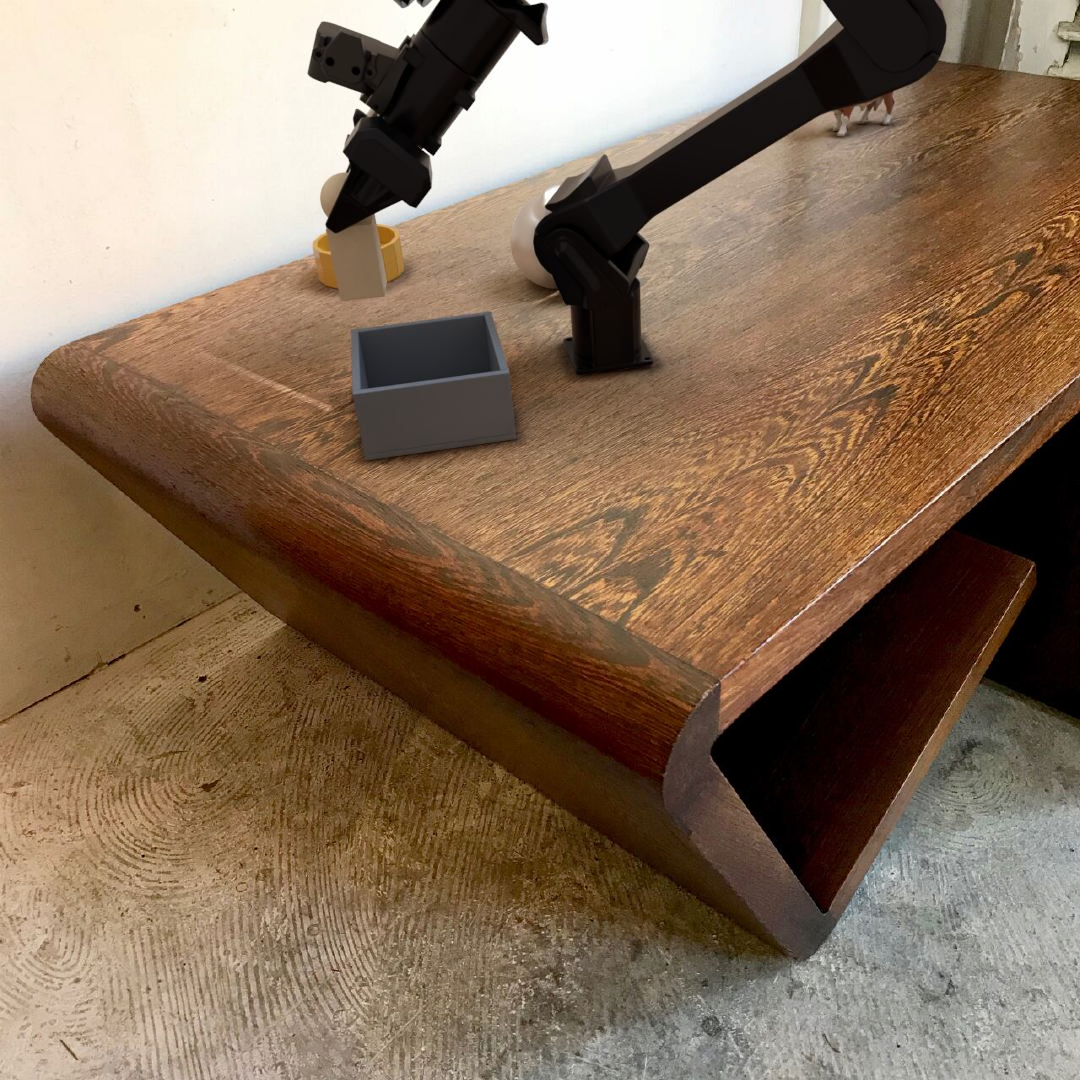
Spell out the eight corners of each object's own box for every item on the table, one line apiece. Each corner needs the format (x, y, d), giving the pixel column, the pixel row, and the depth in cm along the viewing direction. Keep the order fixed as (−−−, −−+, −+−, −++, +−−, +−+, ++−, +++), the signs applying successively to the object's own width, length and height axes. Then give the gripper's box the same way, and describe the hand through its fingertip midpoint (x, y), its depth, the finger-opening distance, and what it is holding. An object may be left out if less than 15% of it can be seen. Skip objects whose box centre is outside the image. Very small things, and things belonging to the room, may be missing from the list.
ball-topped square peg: (389, 279, 88) (368, 163, 83) (387, 298, 85) (365, 178, 79) (342, 284, 88) (318, 168, 83) (338, 303, 85) (312, 184, 79)
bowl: (407, 287, 104) (401, 248, 101) (320, 299, 103) (311, 259, 101) (402, 257, 111) (397, 219, 108) (320, 267, 110) (313, 229, 108)
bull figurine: (797, 135, 136) (801, 67, 131) (880, 116, 140) (888, 50, 135) (818, 142, 133) (823, 73, 128) (903, 123, 137) (911, 56, 132)
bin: (516, 439, 78) (509, 372, 75) (365, 460, 77) (352, 394, 74) (497, 373, 87) (490, 310, 84) (362, 391, 86) (350, 329, 83)
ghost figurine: (541, 314, 96) (533, 205, 90) (499, 281, 103) (489, 178, 97) (627, 291, 99) (625, 184, 93) (581, 260, 106) (576, 159, 100)
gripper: (369, -42, 81) (261, 123, 87) (348, -3, 66) (220, 193, 72) (483, 57, 86) (373, 207, 92) (488, 114, 70) (356, 289, 77)
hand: (332, 220), depth 83 cm, fingers closed on ball-topped square peg, 4 cm apart
